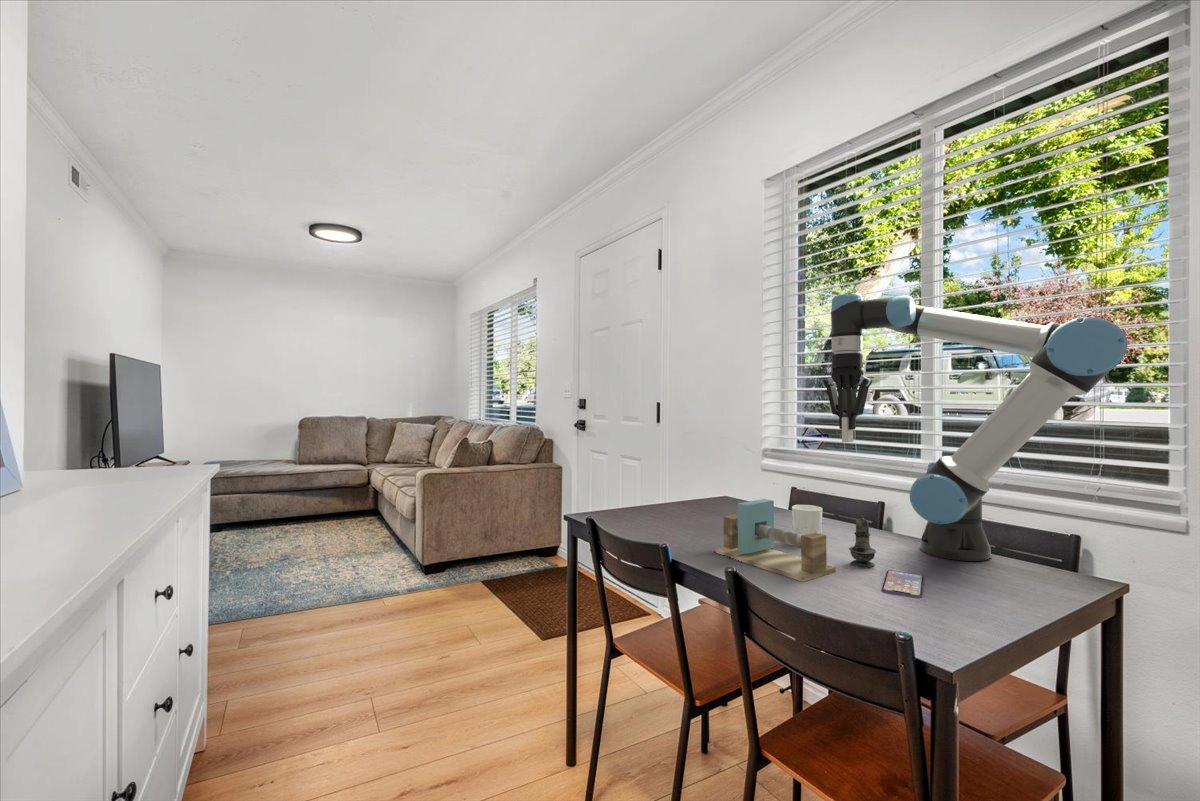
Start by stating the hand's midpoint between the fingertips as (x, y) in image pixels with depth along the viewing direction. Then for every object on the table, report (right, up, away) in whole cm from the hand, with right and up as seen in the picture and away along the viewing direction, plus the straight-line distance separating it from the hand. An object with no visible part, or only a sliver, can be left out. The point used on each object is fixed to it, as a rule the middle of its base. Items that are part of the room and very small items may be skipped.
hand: (847, 441), depth 144 cm
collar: (-26, -27, -7) cm, 38 cm away
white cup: (-9, -29, +5) cm, 30 cm away
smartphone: (-1, -29, -28) cm, 40 cm away
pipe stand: (-24, -29, -11) cm, 39 cm away
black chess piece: (-3, -29, -14) cm, 32 cm away
